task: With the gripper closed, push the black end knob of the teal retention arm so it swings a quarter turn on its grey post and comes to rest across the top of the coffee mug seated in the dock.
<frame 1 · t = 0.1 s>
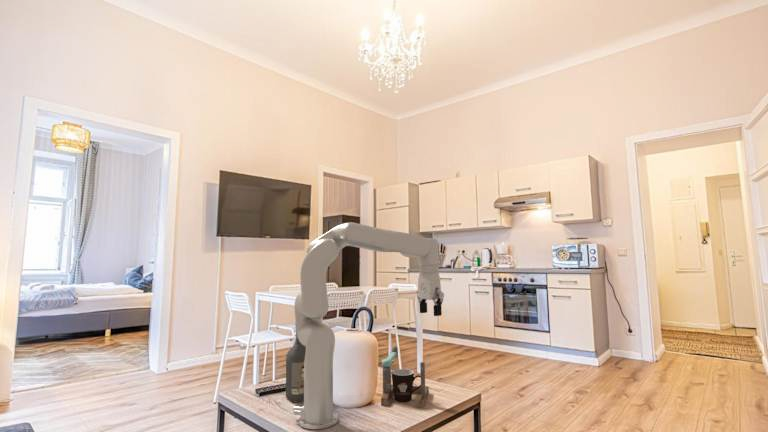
hand: (430, 314, 153), 31 cm above the table, tool pointing down, fingers open, 9 cm apart
coffee mug: (406, 400, 147), on the table
clip: (390, 356, 158), point 14 cm above the table, hinge at 90.0°
dock: (407, 399, 148), on the table
liquor: (299, 398, 152), on the table
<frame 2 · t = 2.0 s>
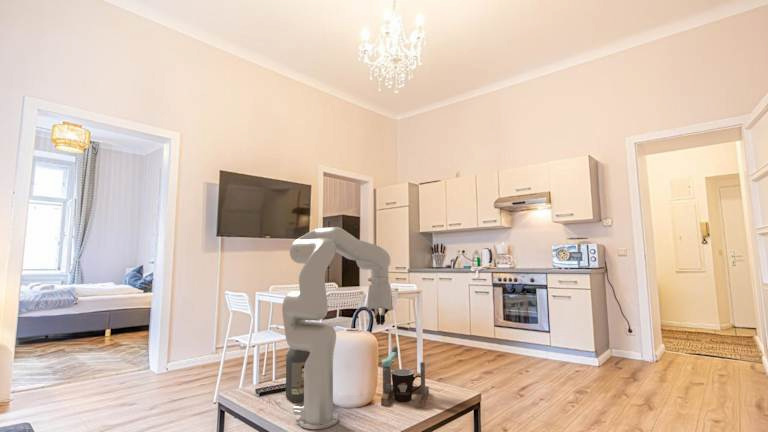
hand: (380, 324, 168), 25 cm above the table, tool pointing down, fingers closed
nothing on the table moved.
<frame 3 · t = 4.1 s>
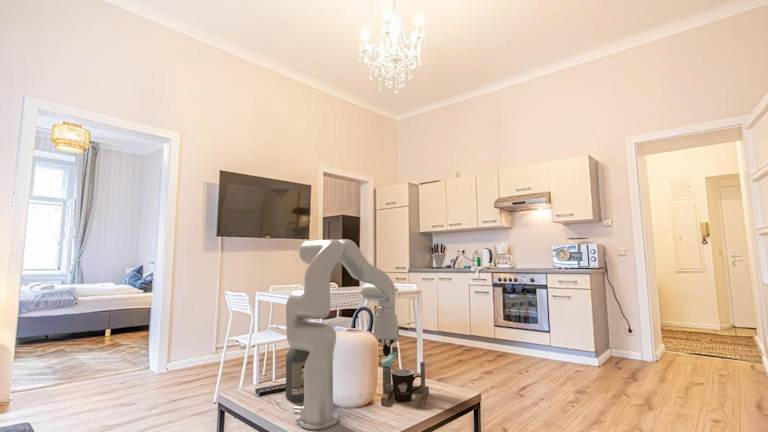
hand: (386, 355, 166), 12 cm above the table, tool pointing down, fingers closed
clip: (390, 356, 158), point 14 cm above the table, hinge at 89.2°, touching gripper
everything else where it was.
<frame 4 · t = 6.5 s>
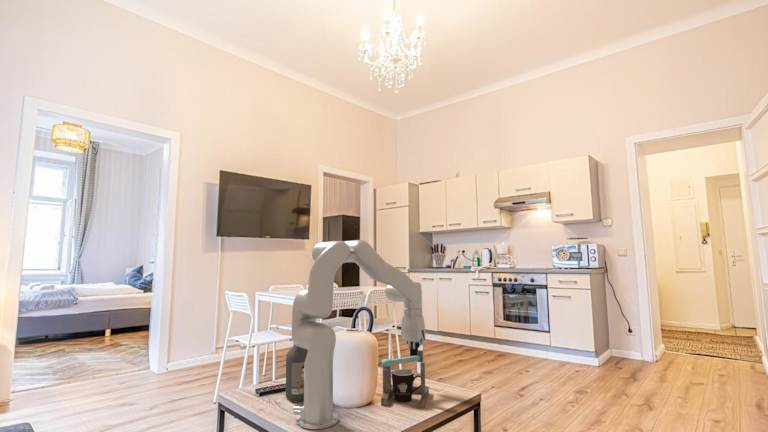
hand: (414, 357, 161), 12 cm above the table, tool pointing down, fingers closed
clip: (403, 358, 154), point 14 cm above the table, hinge at 42.2°, touching gripper
everything else where it was.
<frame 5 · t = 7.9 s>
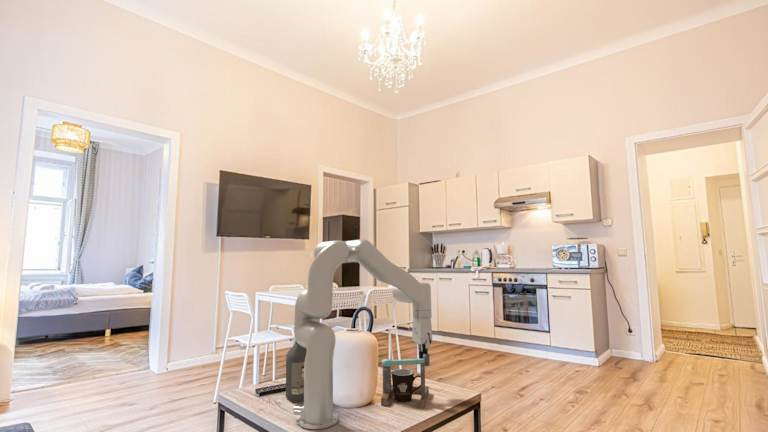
hand: (423, 361, 156), 12 cm above the table, tool pointing down, fingers closed
clip: (405, 360, 152), point 14 cm above the table, hinge at 19.6°, touching gripper
everything else where it was.
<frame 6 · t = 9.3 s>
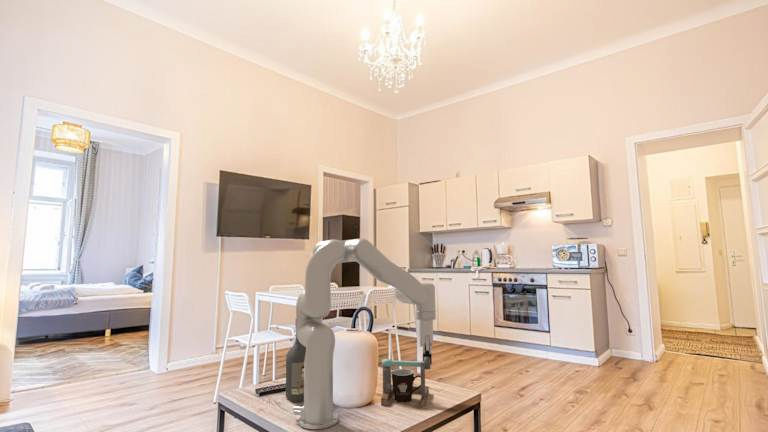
hand: (427, 364, 151), 12 cm above the table, tool pointing down, fingers closed
clip: (405, 362, 149), point 14 cm above the table, hinge at 1.7°, touching gripper
everything else where it was.
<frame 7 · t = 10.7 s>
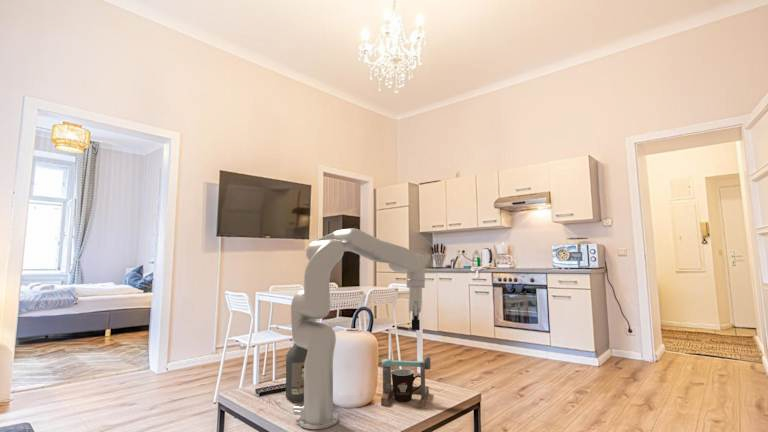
hand: (415, 329, 161), 24 cm above the table, tool pointing down, fingers closed
clip: (405, 362, 149), point 14 cm above the table, hinge at 1.6°
everything else where it was.
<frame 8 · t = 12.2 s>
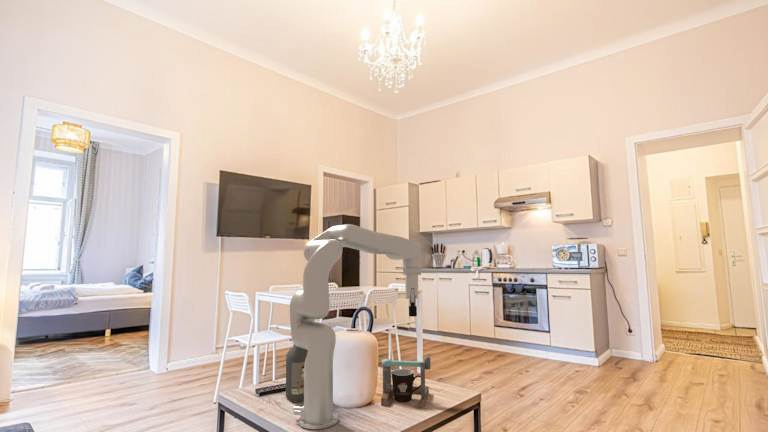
hand: (412, 316, 163), 29 cm above the table, tool pointing down, fingers closed
nothing on the table moved.
at the end: clip at +2° (first picture: +90°); coffee mug moved 0.2 cm from its start; coffee mug tilted 0° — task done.
